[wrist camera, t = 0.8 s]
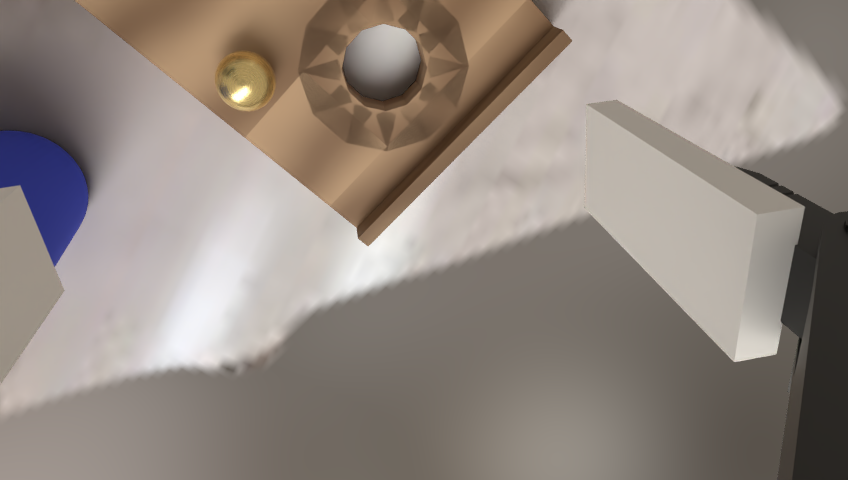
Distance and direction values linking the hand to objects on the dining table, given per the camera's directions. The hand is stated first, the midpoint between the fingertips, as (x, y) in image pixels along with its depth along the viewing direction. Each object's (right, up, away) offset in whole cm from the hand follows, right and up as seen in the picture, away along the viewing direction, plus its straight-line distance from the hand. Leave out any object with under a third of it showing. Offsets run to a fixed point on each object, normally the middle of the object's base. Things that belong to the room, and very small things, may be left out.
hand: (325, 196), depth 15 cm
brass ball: (-7, +7, +17) cm, 20 cm away
